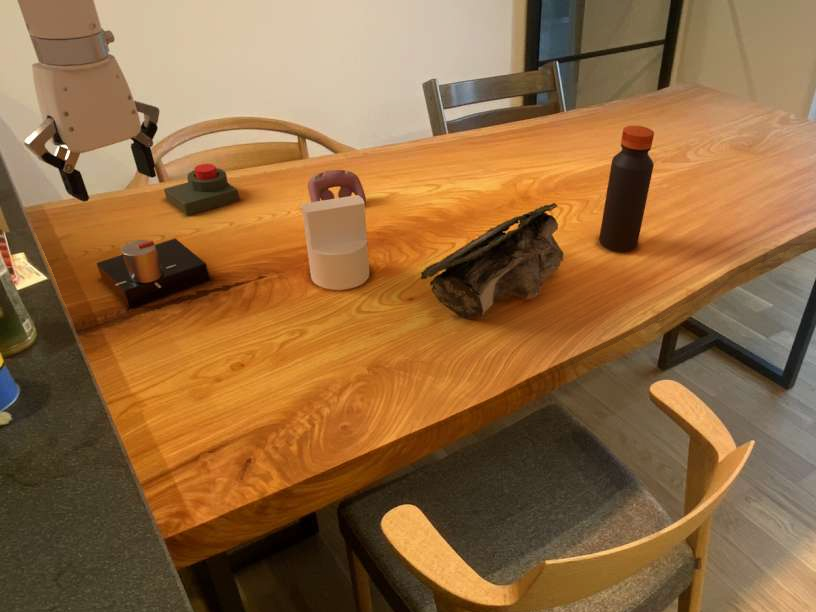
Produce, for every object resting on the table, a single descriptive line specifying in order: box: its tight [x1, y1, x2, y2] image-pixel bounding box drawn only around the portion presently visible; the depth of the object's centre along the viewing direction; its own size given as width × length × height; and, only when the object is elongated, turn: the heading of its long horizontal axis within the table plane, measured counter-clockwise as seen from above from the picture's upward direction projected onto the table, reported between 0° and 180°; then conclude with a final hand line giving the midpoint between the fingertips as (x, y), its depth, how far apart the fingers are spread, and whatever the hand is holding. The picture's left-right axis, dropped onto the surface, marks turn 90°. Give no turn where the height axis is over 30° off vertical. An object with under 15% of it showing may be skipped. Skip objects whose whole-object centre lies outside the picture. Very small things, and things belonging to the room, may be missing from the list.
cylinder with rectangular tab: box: [301, 194, 370, 291], centre depth 105 cm, size 9×9×12 cm
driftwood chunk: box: [420, 202, 564, 320], centre depth 103 cm, size 28×13×15 cm
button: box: [193, 163, 217, 180], centre depth 125 cm, size 4×4×2 cm
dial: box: [120, 239, 163, 283], centre depth 98 cm, size 4×4×5 cm
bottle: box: [598, 125, 655, 253], centre depth 115 cm, size 7×7×20 cm
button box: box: [163, 167, 240, 216], centre depth 125 cm, size 10×8×4 cm
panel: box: [95, 238, 211, 309], centre depth 103 cm, size 12×12×3 cm
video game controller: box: [307, 169, 367, 205], centre depth 126 cm, size 10×5×7 cm, turn 116°
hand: (115, 186), depth 92 cm, fingers open, 9 cm apart
